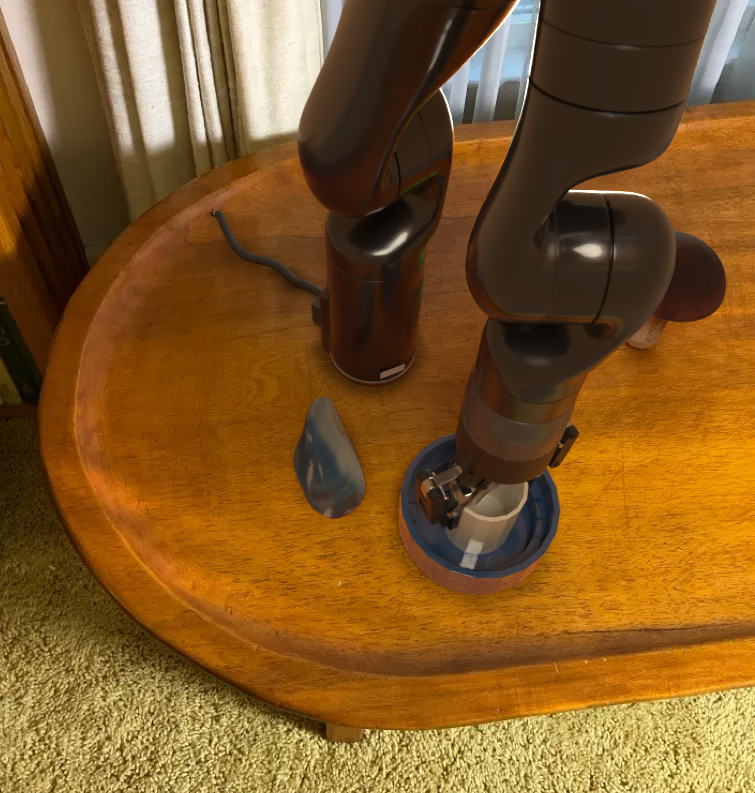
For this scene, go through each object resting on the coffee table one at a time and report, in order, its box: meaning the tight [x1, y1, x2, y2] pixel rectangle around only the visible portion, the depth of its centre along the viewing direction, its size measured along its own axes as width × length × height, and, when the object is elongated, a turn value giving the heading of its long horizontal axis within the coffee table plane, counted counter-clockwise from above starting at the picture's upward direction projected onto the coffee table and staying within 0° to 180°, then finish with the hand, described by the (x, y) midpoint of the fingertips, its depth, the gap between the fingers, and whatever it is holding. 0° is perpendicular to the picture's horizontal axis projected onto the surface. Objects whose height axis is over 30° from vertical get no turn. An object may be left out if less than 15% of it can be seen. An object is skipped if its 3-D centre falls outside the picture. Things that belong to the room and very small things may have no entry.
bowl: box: [397, 431, 561, 596], centre depth 70 cm, size 14×14×6 cm
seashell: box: [293, 396, 366, 520], centre depth 73 cm, size 6×9×10 cm
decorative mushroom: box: [626, 230, 727, 350], centre depth 78 cm, size 11×11×15 cm
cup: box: [444, 482, 528, 554], centre depth 69 cm, size 6×6×8 cm
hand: (482, 503), depth 69 cm, fingers closed on cup, 6 cm apart
